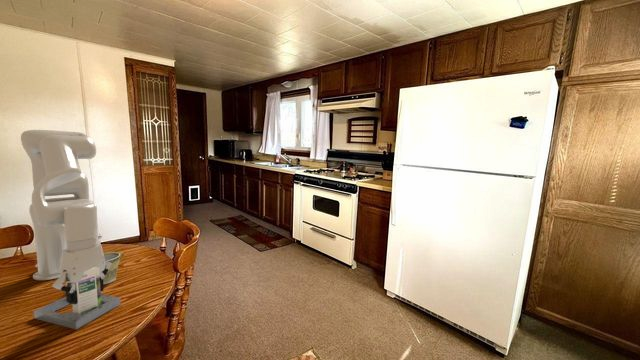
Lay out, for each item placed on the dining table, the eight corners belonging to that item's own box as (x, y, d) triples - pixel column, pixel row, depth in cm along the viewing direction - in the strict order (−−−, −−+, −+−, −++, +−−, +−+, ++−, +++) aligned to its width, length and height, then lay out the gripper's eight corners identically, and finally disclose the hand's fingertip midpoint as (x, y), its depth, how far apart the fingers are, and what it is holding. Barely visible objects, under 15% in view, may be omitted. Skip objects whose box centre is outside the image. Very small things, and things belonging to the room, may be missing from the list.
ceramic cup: (103, 289, 97) (101, 263, 96) (82, 285, 99) (80, 260, 98) (134, 273, 110) (133, 250, 109) (114, 270, 112) (113, 248, 111)
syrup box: (79, 318, 79) (75, 273, 78) (72, 311, 82) (69, 268, 81) (102, 309, 84) (99, 266, 82) (94, 302, 87) (92, 261, 86)
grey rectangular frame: (34, 318, 80) (33, 310, 80) (81, 296, 92) (81, 289, 92) (76, 329, 76) (76, 321, 75) (120, 304, 88) (120, 297, 88)
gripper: (102, 233, 90) (105, 281, 92) (38, 251, 73) (43, 310, 75) (119, 235, 88) (122, 285, 90) (57, 255, 71) (62, 315, 73)
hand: (86, 296), depth 83 cm, fingers closed on syrup box, 6 cm apart
